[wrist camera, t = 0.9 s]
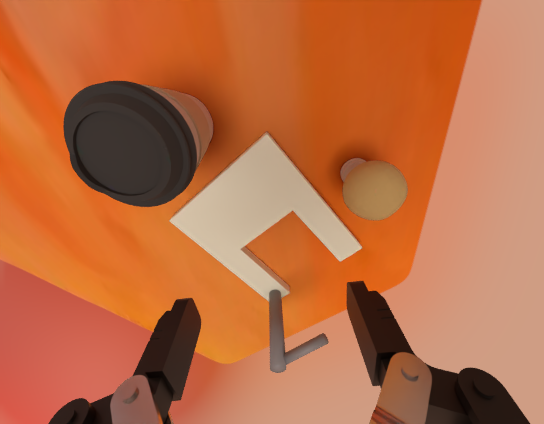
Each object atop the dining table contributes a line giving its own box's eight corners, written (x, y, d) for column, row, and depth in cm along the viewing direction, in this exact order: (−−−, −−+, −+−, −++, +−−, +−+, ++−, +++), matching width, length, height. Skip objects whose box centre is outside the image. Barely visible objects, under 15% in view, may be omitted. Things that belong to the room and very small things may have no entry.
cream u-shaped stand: (266, 131, 30) (267, 162, 18) (358, 241, 38) (402, 315, 26) (173, 215, 35) (124, 283, 23) (271, 296, 43) (273, 379, 31)
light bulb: (355, 200, 34) (386, 240, 26) (319, 177, 33) (339, 212, 24) (387, 162, 32) (433, 192, 23) (350, 136, 30) (384, 158, 21)
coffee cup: (196, 66, 26) (125, 49, 13) (236, 142, 30) (213, 188, 17) (130, 105, 28) (8, 123, 15) (176, 172, 32) (112, 234, 19)
